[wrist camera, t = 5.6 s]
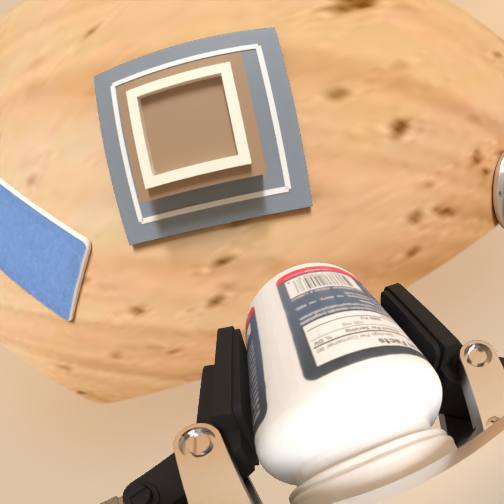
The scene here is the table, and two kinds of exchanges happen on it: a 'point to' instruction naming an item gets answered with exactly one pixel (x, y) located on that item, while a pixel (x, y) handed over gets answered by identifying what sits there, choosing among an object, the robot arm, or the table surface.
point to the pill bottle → (337, 388)
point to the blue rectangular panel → (41, 253)
